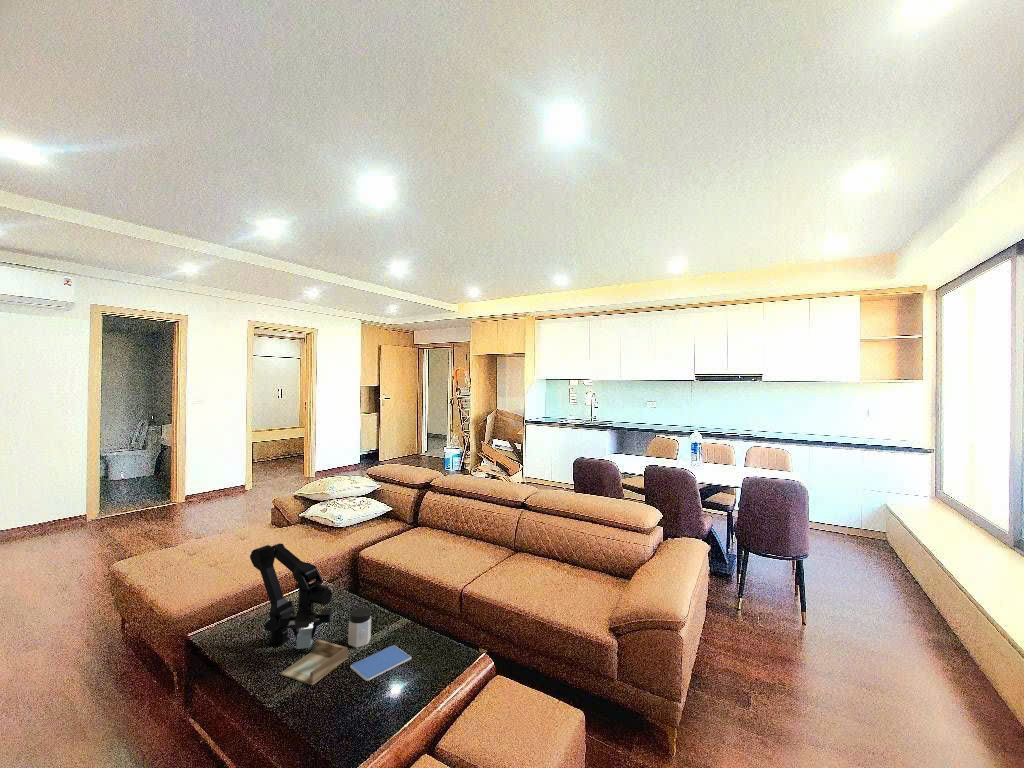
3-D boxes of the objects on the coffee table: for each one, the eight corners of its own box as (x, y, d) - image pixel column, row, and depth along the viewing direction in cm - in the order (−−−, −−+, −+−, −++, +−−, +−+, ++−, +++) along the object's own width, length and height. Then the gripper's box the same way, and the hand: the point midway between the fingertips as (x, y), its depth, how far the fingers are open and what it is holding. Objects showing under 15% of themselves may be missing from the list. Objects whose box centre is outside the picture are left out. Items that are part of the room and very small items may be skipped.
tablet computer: (393, 647, 177) (394, 643, 177) (412, 659, 169) (412, 656, 169) (349, 668, 162) (349, 665, 163) (367, 683, 154) (367, 680, 154)
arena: (280, 674, 157) (280, 663, 157) (317, 649, 173) (317, 639, 173) (312, 685, 152) (312, 673, 152) (347, 658, 168) (347, 647, 168)
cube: (296, 649, 170) (296, 636, 170) (299, 642, 174) (299, 629, 175) (310, 647, 171) (310, 634, 171) (312, 640, 176) (313, 628, 176)
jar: (350, 650, 173) (351, 619, 174) (345, 640, 180) (346, 610, 181) (373, 643, 178) (374, 613, 179) (367, 634, 185) (368, 605, 185)
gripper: (274, 612, 163) (273, 654, 163) (328, 607, 168) (327, 648, 167) (282, 598, 174) (281, 638, 174) (332, 594, 179) (331, 632, 178)
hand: (305, 639), depth 173 cm, fingers closed on cube, 5 cm apart
